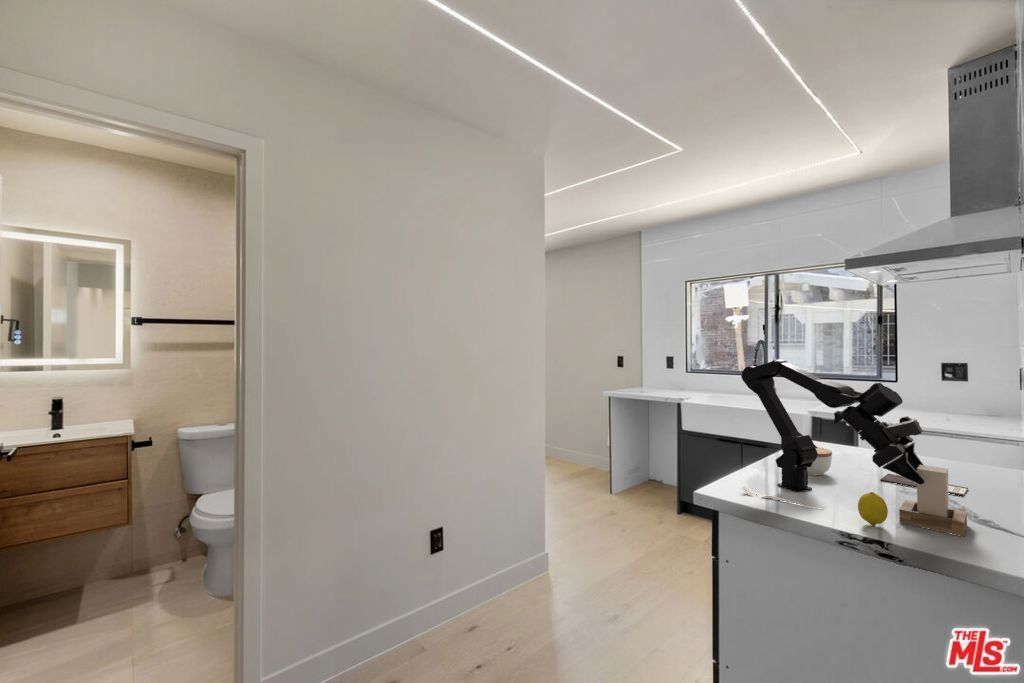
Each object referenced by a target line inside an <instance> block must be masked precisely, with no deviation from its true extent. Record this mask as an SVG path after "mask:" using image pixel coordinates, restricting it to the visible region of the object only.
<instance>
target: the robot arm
mask: <svg viewBox="0 0 1024 683" xmlns="http://www.w3.org/2000/svg"><path fill="white" fill-rule="evenodd" d="M740 375H741V380H742V382H744V384H745V386H746V387H747V388H748V389H749V390H751V391H752V392H753V393H755V394H756V395H757V397H758V398H759V400H760V401H761V404H762V406H763V407H764V409H765V411H766V413H767V415H768V417H769V418H770V419H771V421H772V424H773V425H774V427H775V429H776V431H777V432H778V434H779V436H780V440H781V441H780V447H781V452H782V454H780V456H778V457H777V458H776V459H775V464H776V466H777V468H779V469H781V483H777V486H778V487H781V488H784V489H787V490H789V491H791V490H792V492H794V491H795V493H799V491H800V492H805V491H806V490H807V491H811V490H813V487H812V486H811V487H810V486H809V478H808V476H809V475H808V472H807V467H811V466H812V463H813V462H814V461H815V460H816V458H817V455H818V453H817V450H816V449H815V448H817V447H818V446H816V445H815V443H814V441H813V440H812V437H811V436H810V435H809V434H804V435H803V434H802V433H801V432H799V430H798V429H797V427H796V426H795V423H794V421H793V420H792V418H791V417H790V415H789V413H788V412H787V410H786V408H785V406H784V405H783V402H782V401H781V400H780V397H779V396H778V394H777V392H776V391H775V388H774V386H775V385H774V384H775V380H774V378H775V377H777V376H781V378H785V379H786V380H788V381H790V382H792V383H793V384H795V385H798V386H800V388H804V389H805V390H807V391H809V392H811V393H812V394H813V395H814V396H815V398H816V399H817V400H818V401H819V402H821V403H822V404H823V405H825V406H826V407H828V408H831V409H836V408H845V407H846V408H845V409H843V410H842V411H840V410H837V411H835V412H833V415H834V419H833V423H834V424H838V423H839V422H841V421H842V420H843V421H844V422H845V423H847V425H849V427H850V428H851V429H853V430H854V431H855V433H857V434H858V435H859V436H860V437H859V439H860V440H861V441H862V442H863V441H865V442H866V443H867V444H869V445H870V446H871V447H872V448H873V449H874V450H873V452H874V454H873V455H872V463H874V464H875V465H876V466H877V467H878V468H882V469H883V470H887V471H890V472H892V473H894V474H895V475H899V476H903V477H905V478H907V479H910V480H912V481H914V482H916V483H918V484H923V483H925V481H924V480H923V479H922V477H921V476H920V475H919V474H918V472H917V468H918V466H919V465H924V463H923V462H922V461H921V459H920V457H919V456H918V455H917V454H916V452H915V445H916V443H915V442H913V441H914V438H912V437H911V436H917V435H918V436H919V435H922V433H923V431H924V430H923V429H922V427H921V425H920V422H919V421H918V419H916V418H914V419H912V418H911V417H909V416H908V415H907V416H902V417H900V418H899V421H898V423H895V424H891V425H889V424H888V423H887V422H886V421H885V422H884V421H882V422H881V421H880V420H879V419H878V418H877V417H883V416H885V415H887V414H888V413H889V412H892V410H894V409H896V408H897V407H898V406H900V405H901V404H903V398H902V397H901V396H900V394H899V393H898V392H897V391H894V390H893V389H891V388H889V387H888V386H886V385H884V384H883V383H882V382H875V383H873V384H872V385H871V386H870V387H869V388H868V389H866V390H865V391H864V392H860V391H856V390H855V389H854V388H853V387H851V386H849V385H846V384H843V383H840V382H836V381H832V380H831V381H830V380H827V379H823V378H821V377H820V376H819V377H818V376H817V375H814V374H812V373H810V372H809V371H806V370H804V369H802V368H800V367H798V366H796V365H794V364H792V363H789V362H788V361H787V360H785V359H773V360H772V361H769V362H766V363H763V364H760V365H755V366H753V365H751V366H746V367H745V368H744V369H743V370H742V371H741V374H740ZM855 403H859V404H858V405H856V406H854V404H855Z"/></svg>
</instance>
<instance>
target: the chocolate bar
mask: <svg viewBox="0 0 1024 683" xmlns="http://www.w3.org/2000/svg"><path fill="white" fill-rule="evenodd" d="M879 481H880V482H882V481H885V482H884V483H887V482H891V483H890V484H893V483H897V484H896V485H898V484H902V485H901V486H903V485H907V486H906V487H908V486H913V487H917V483H916V482H914V481H912V480H910V479H907V478H905V477H903V476H901V475H898V474H895V473H894V474H893V473H887V474H886V475H884V476H883V477H881V478H880V479H879ZM913 487H912V488H913ZM967 489H968V490H969V488H968V487H964V486H960V485H953V484H949V483H948V493H950V494H955V495H959V496H958V497H960V496H963V495H964V496H965V494H966V493H967V492H966V491H968V490H967ZM965 492H966V493H965ZM950 494H949V495H950ZM955 495H954V496H955ZM964 496H963V497H964Z"/></svg>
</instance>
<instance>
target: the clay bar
mask: <svg viewBox="0 0 1024 683" xmlns="http://www.w3.org/2000/svg"><path fill="white" fill-rule="evenodd" d="M917 472H918V474H919V475H920V476H921V477H922V479H923V480H924V481H925V483H923V484H918V483H917V488H916V502H917V512H921V513H925V514H930V515H935V516H940V517H945V518H949V513H948V508H949V494H948V484H949V468H946V467H939V466H931V465H926V464H923V465H919V466H918V468H917Z"/></svg>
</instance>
